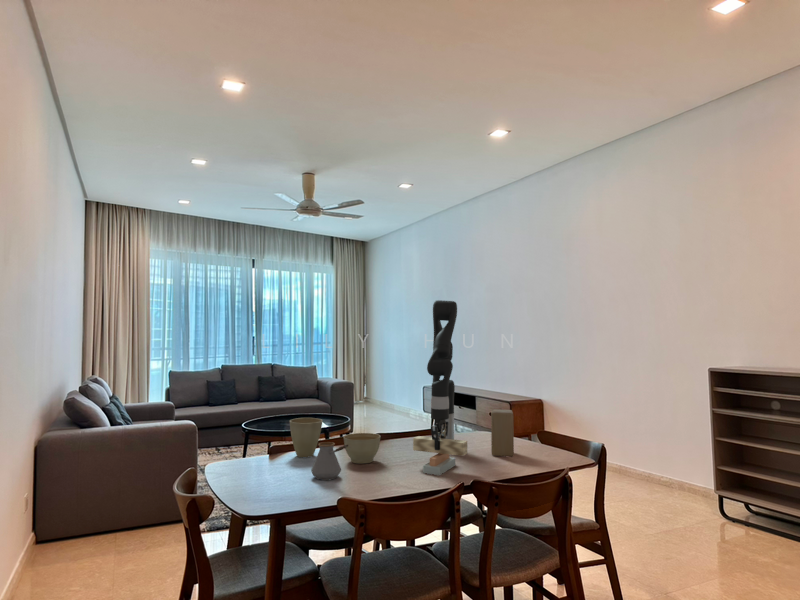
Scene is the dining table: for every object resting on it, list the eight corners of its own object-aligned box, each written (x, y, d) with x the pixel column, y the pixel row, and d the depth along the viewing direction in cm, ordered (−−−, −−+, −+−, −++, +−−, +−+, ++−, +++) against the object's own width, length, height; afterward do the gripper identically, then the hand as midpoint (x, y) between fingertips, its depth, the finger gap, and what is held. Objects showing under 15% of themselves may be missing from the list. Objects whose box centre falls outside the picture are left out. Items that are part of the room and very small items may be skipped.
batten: (467, 453, 207) (467, 440, 207) (463, 455, 202) (463, 443, 203) (418, 448, 216) (418, 436, 217) (413, 450, 212) (413, 438, 212)
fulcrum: (440, 463, 218) (440, 449, 219) (455, 465, 215) (455, 450, 216) (423, 473, 202) (423, 457, 203) (439, 475, 199) (439, 459, 200)
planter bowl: (371, 455, 231) (371, 431, 232) (386, 463, 217) (386, 437, 218) (338, 459, 224) (338, 434, 225) (351, 467, 210) (351, 441, 211)
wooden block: (512, 452, 240) (512, 409, 241) (513, 457, 230) (513, 412, 231) (491, 451, 241) (491, 409, 243) (491, 456, 231) (491, 412, 233)
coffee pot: (305, 476, 196) (306, 437, 197) (331, 471, 204) (331, 434, 205) (334, 490, 180) (334, 447, 181) (361, 484, 187) (361, 443, 188)
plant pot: (291, 460, 221) (291, 423, 222) (286, 453, 235) (287, 418, 236) (324, 458, 226) (325, 422, 227) (318, 451, 240) (319, 417, 241)
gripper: (441, 409, 202) (441, 453, 201) (454, 405, 215) (454, 446, 214) (424, 408, 206) (424, 451, 205) (438, 404, 219) (438, 444, 217)
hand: (439, 448), depth 209 cm, fingers closed on batten, 5 cm apart
